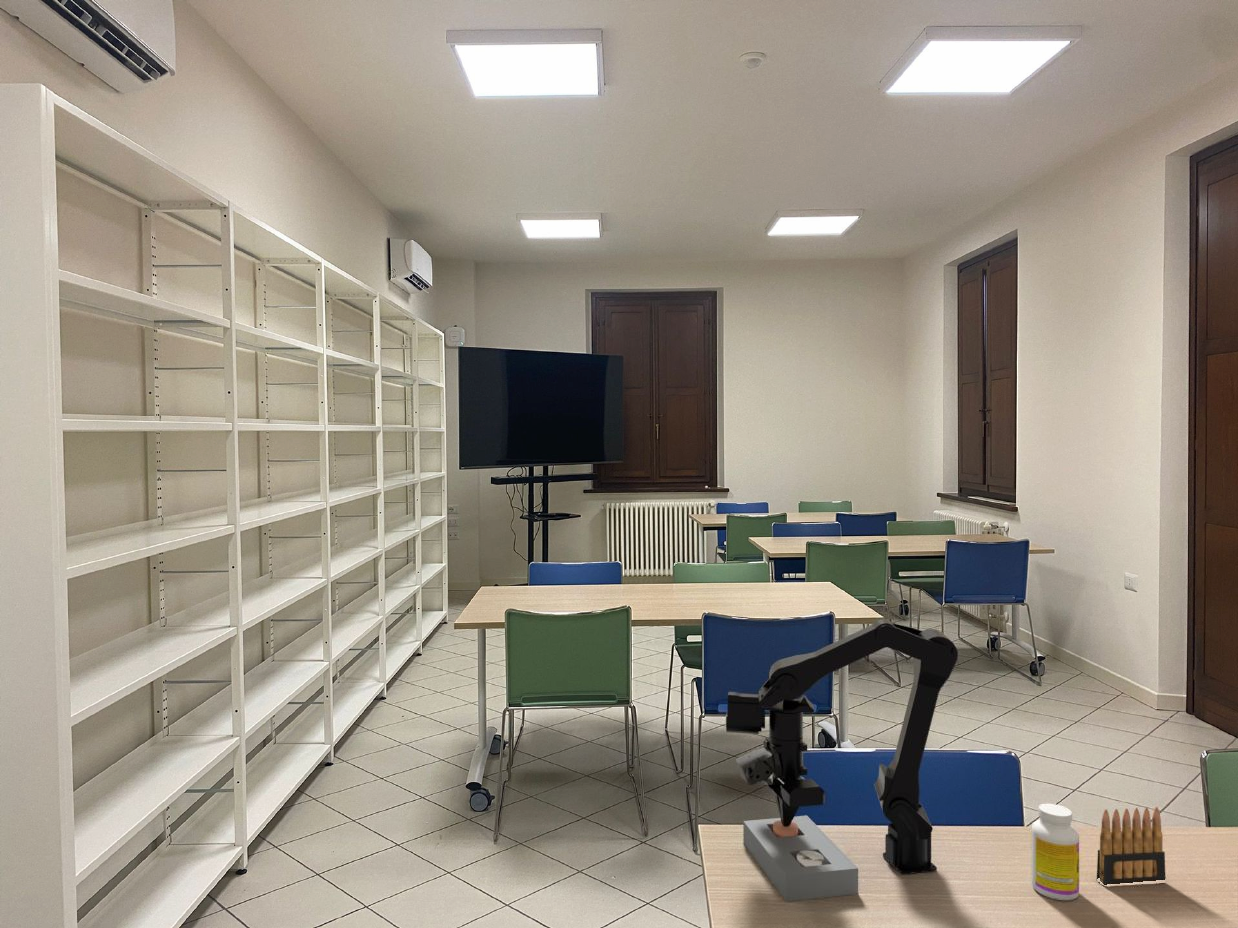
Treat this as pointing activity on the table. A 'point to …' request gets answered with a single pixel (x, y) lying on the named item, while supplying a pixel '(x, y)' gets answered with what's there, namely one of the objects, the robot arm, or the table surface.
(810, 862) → the steel plunger
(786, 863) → the panel
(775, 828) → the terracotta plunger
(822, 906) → the table surface
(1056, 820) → the supplement bottle
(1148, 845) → the ammunition clip
